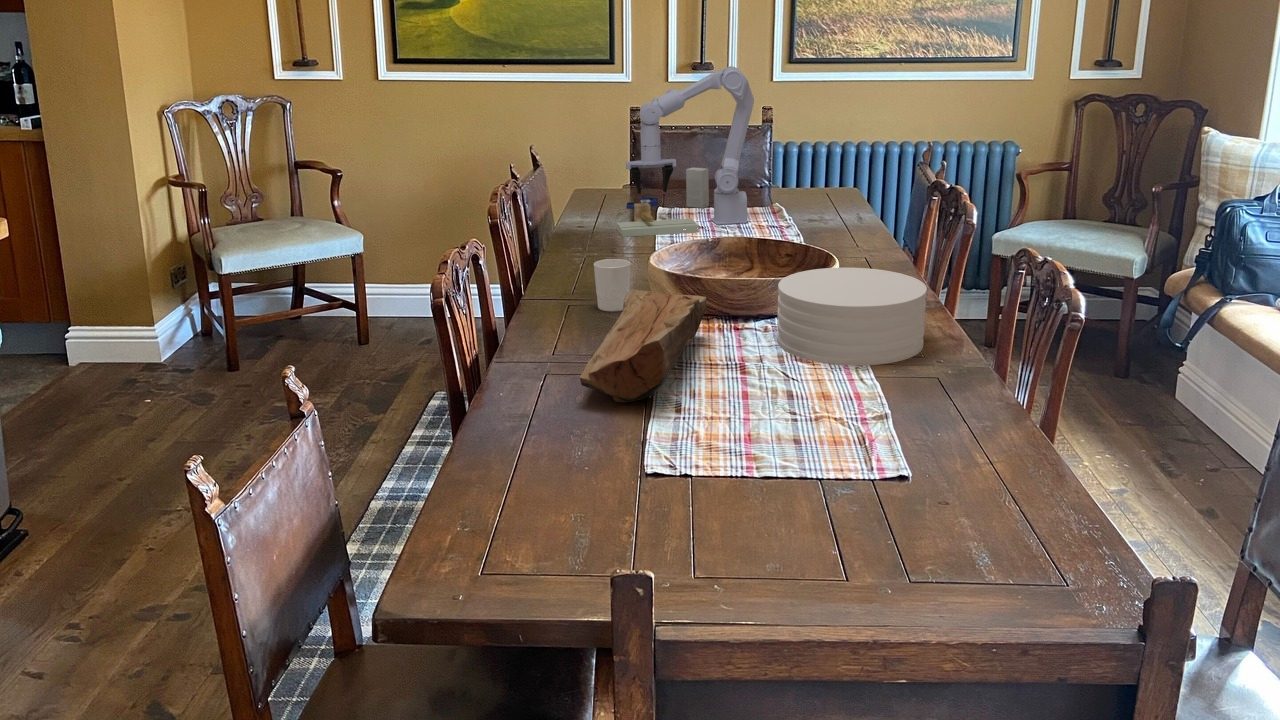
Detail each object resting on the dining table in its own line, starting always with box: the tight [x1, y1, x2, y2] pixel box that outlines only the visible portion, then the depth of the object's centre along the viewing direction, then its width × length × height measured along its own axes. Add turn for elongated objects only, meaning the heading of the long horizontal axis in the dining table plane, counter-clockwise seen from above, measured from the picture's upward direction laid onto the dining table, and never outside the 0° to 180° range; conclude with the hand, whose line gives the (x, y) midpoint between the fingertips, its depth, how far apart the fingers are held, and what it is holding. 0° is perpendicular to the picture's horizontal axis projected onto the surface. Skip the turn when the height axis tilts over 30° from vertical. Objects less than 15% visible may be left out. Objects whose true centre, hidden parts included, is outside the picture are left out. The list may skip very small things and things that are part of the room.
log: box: [579, 288, 707, 403], centre depth 197 cm, size 42×18×15 cm, turn 166°
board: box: [616, 218, 700, 238], centre depth 308 cm, size 22×10×2 cm, turn 100°
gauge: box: [633, 202, 654, 222], centre depth 310 cm, size 4×12×6 cm, turn 13°
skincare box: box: [685, 167, 710, 209], centre depth 339 cm, size 6×4×12 cm
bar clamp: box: [625, 196, 659, 210], centre depth 334 cm, size 32×2×10 cm
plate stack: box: [776, 267, 928, 366], centre depth 208 cm, size 28×28×12 cm
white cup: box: [593, 258, 631, 313], centre depth 235 cm, size 8×8×10 cm
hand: (651, 192), depth 315 cm, fingers open, 7 cm apart
